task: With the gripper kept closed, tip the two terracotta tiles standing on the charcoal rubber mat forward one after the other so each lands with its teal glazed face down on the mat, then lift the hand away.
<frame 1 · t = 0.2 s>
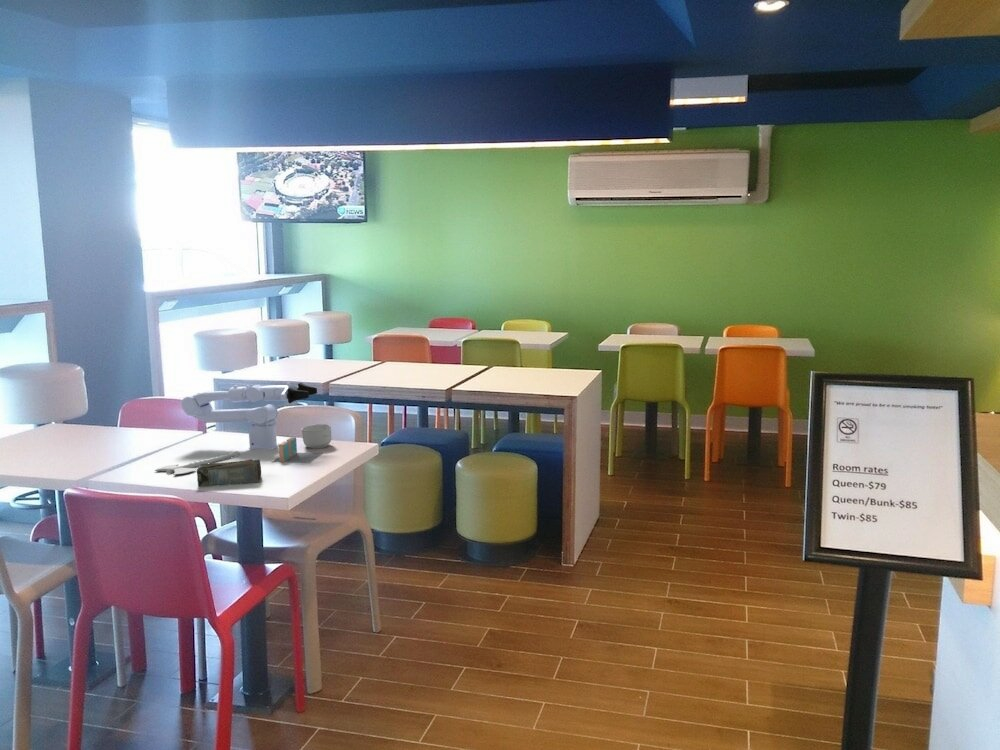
hand: (312, 392, 313), 21 cm above the table, tool horizontal, fingers open, 7 cm apart
tile a: (292, 454, 305), resting on mat
teacup: (318, 446, 320), on the table
tile b: (284, 459, 298), resting on mat
mat: (297, 458, 301), on the table
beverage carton: (230, 483, 272), on the table
axe: (202, 466, 295), on the table
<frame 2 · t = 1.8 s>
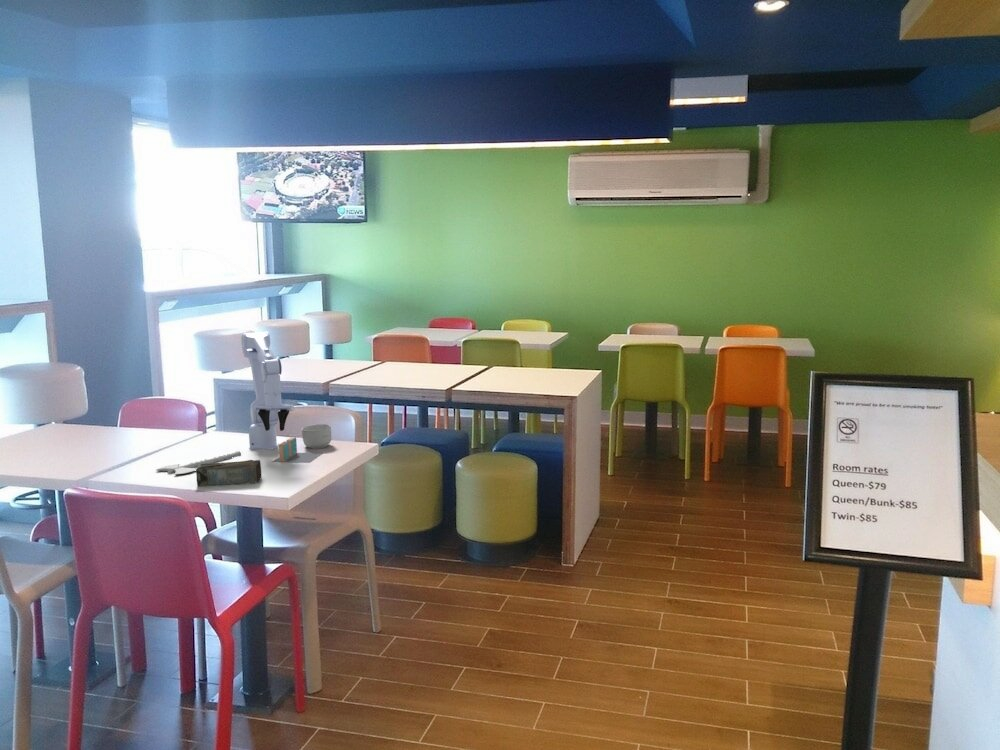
hand: (274, 430, 305), 9 cm above the table, tool pointing down, fingers open, 5 cm apart
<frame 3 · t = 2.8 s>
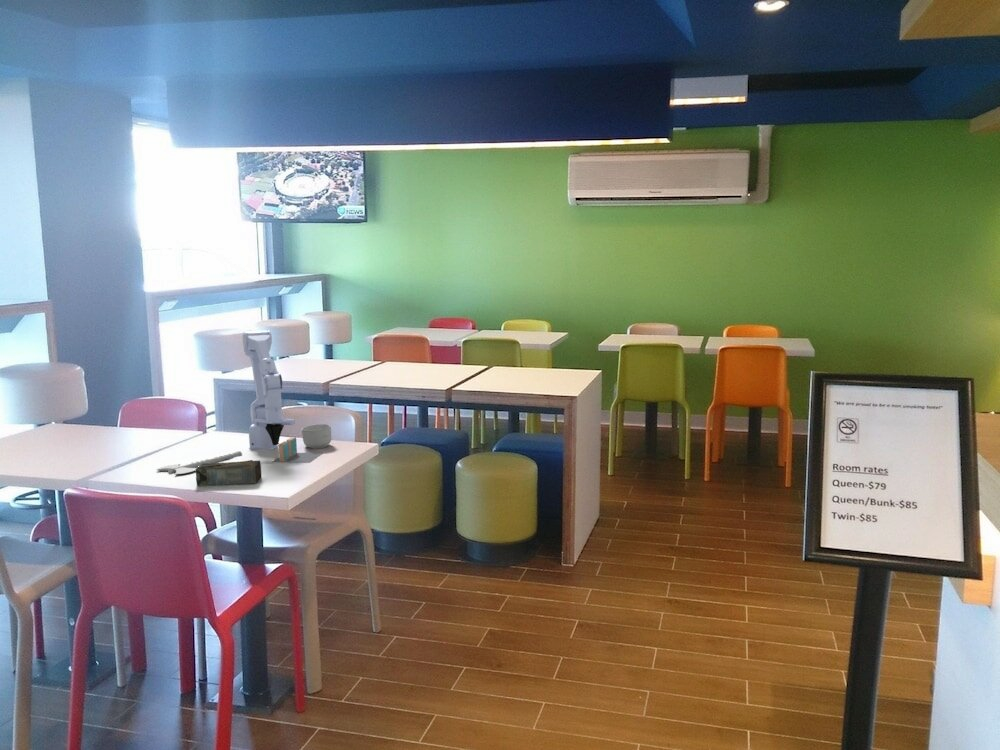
hand: (275, 444, 305), 4 cm above the table, tool pointing down, fingers closed
nothing on the table moved.
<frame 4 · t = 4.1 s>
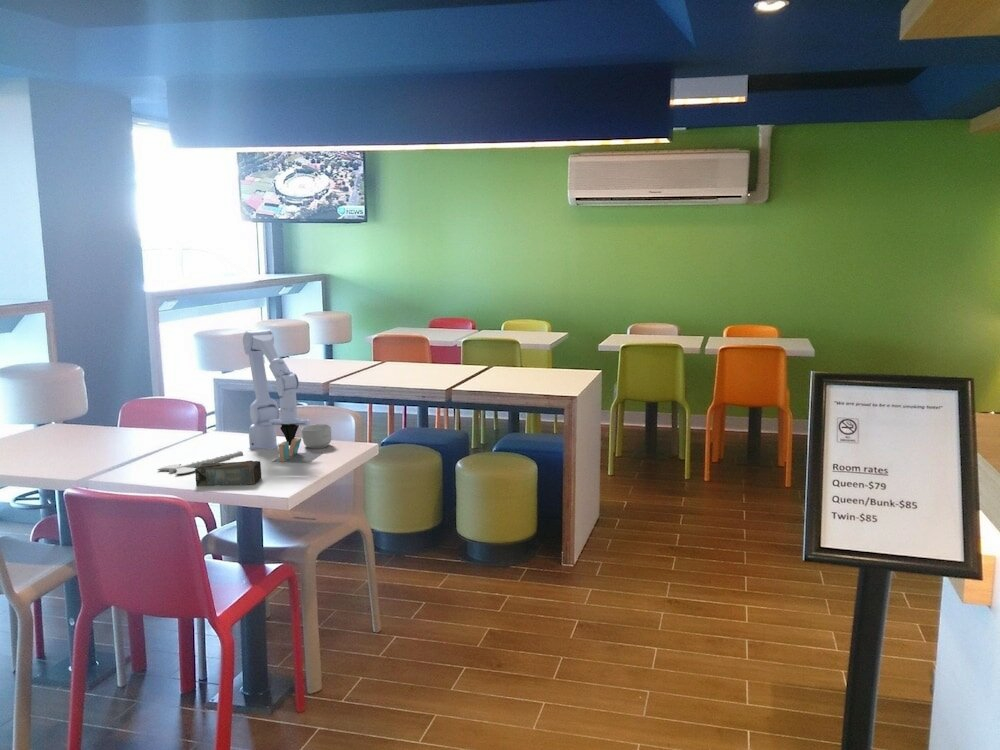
hand: (290, 445, 305), 4 cm above the table, tool pointing down, fingers closed
tile a: (292, 454, 305), point 1 cm above the table, tilted 20°, touching mat
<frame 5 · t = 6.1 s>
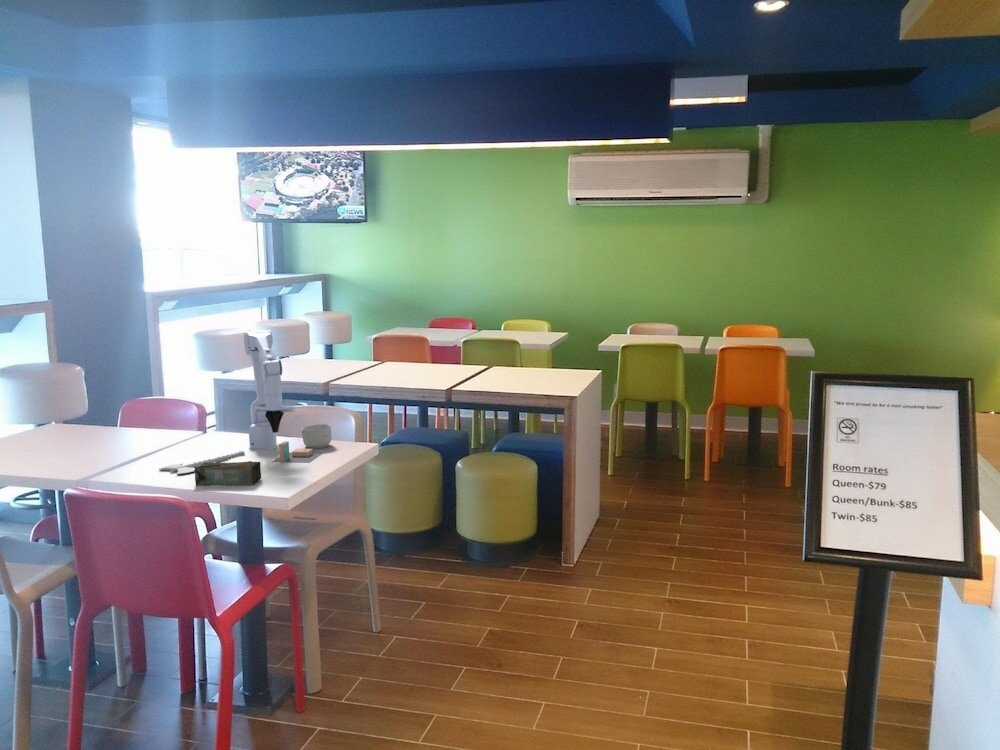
hand: (275, 432, 301), 9 cm above the table, tool pointing down, fingers closed
tile a: (294, 452, 305), point 1 cm above the table, tilted 90°, touching mat
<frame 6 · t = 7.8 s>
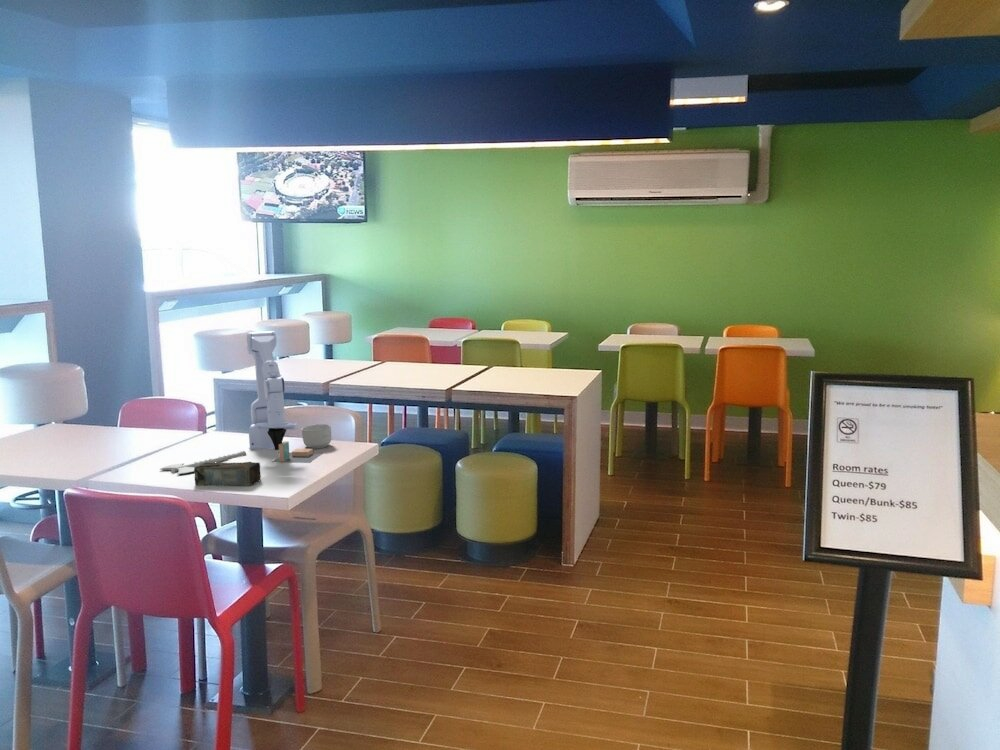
hand: (278, 449, 298), 4 cm above the table, tool pointing down, fingers closed
tile b: (284, 459, 298), resting on mat, touching gripper
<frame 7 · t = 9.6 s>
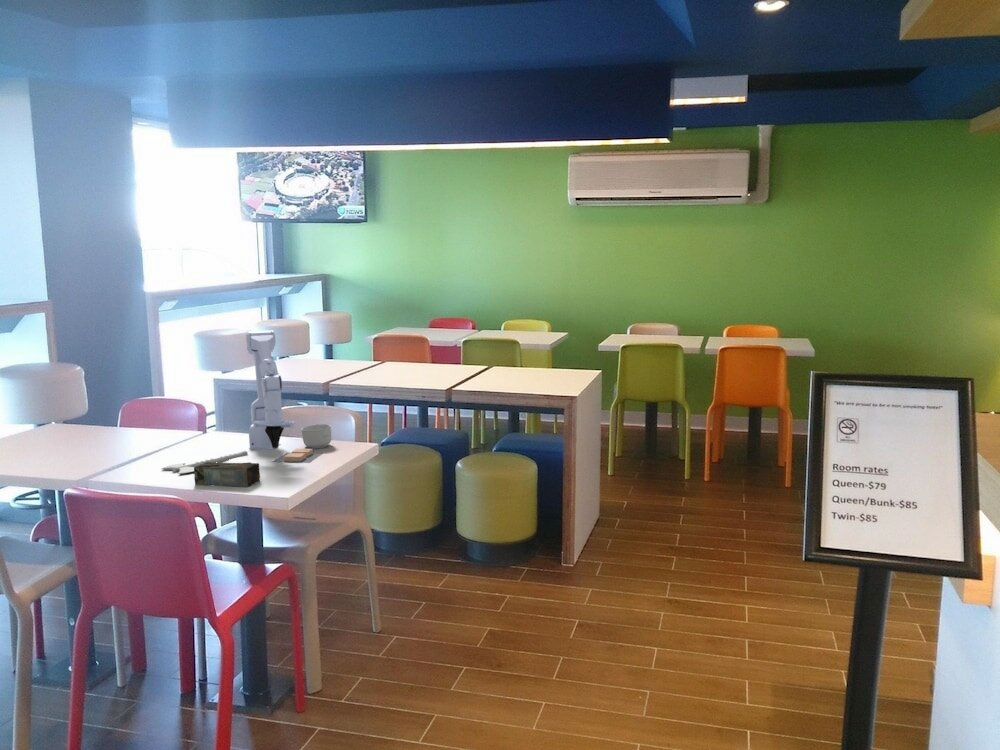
hand: (275, 447, 299), 5 cm above the table, tool pointing down, fingers closed
tile b: (286, 457, 298), point 1 cm above the table, tilted 90°, touching mat
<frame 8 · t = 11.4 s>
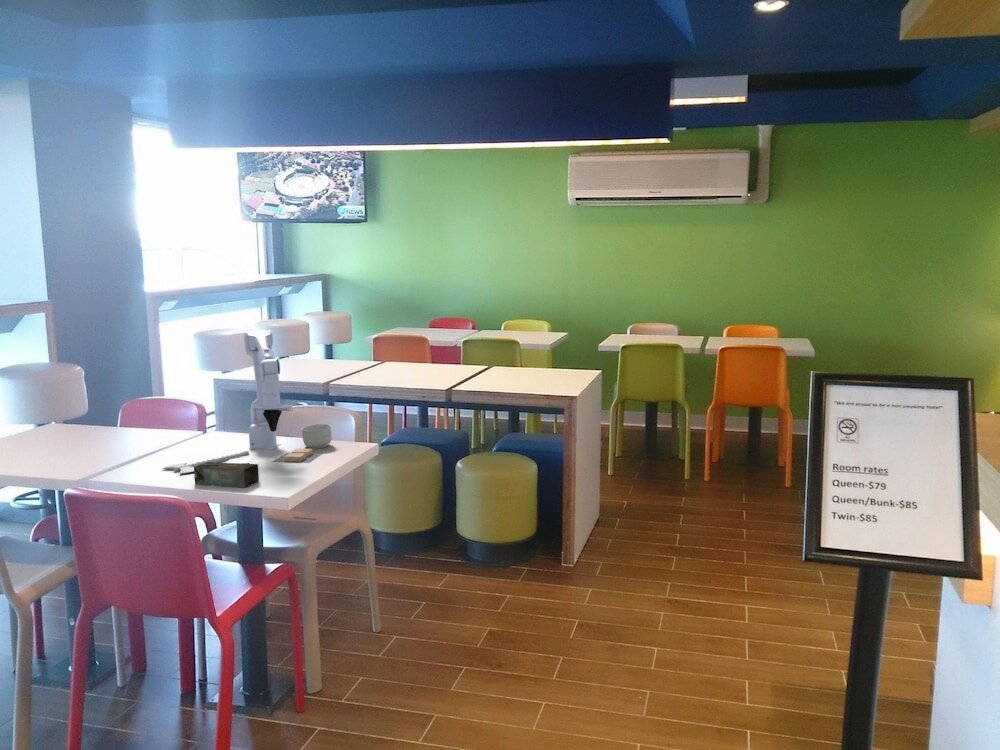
hand: (273, 430, 301), 10 cm above the table, tool pointing down, fingers closed
at the end: tile a tilted 90°; tile b tilted 90°; tile b 4.4 cm from the mat (horizontally) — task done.
